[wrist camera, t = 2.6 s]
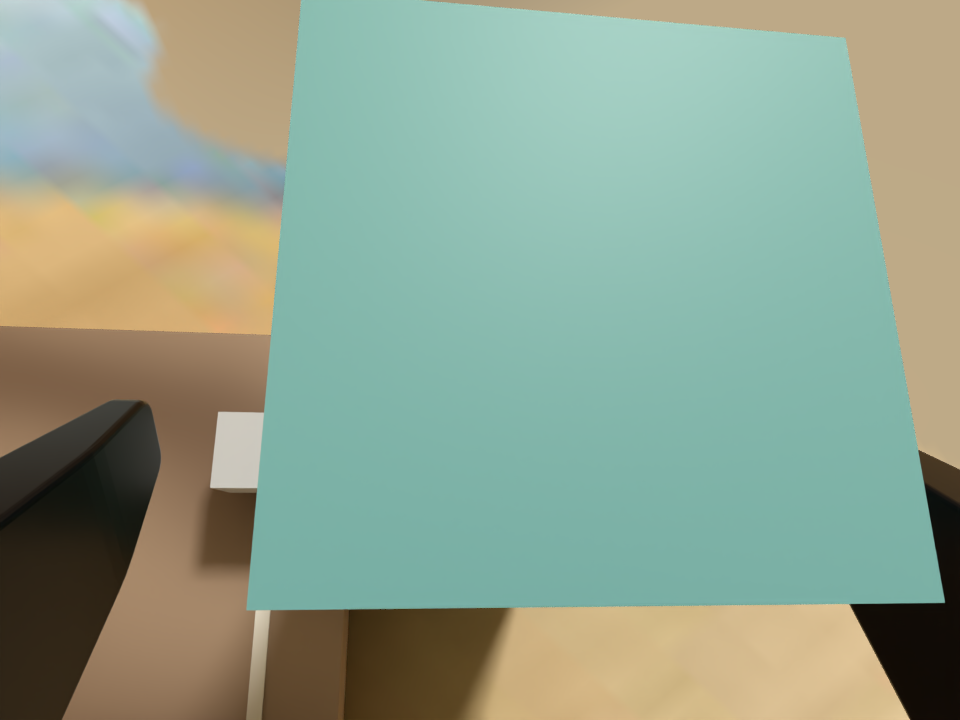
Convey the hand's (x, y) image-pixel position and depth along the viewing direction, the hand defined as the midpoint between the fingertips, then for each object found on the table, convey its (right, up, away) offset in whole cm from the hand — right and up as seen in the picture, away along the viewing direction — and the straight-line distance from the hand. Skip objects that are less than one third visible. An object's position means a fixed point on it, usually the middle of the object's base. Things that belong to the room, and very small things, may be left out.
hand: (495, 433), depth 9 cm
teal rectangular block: (-2, -2, +8) cm, 8 cm away
